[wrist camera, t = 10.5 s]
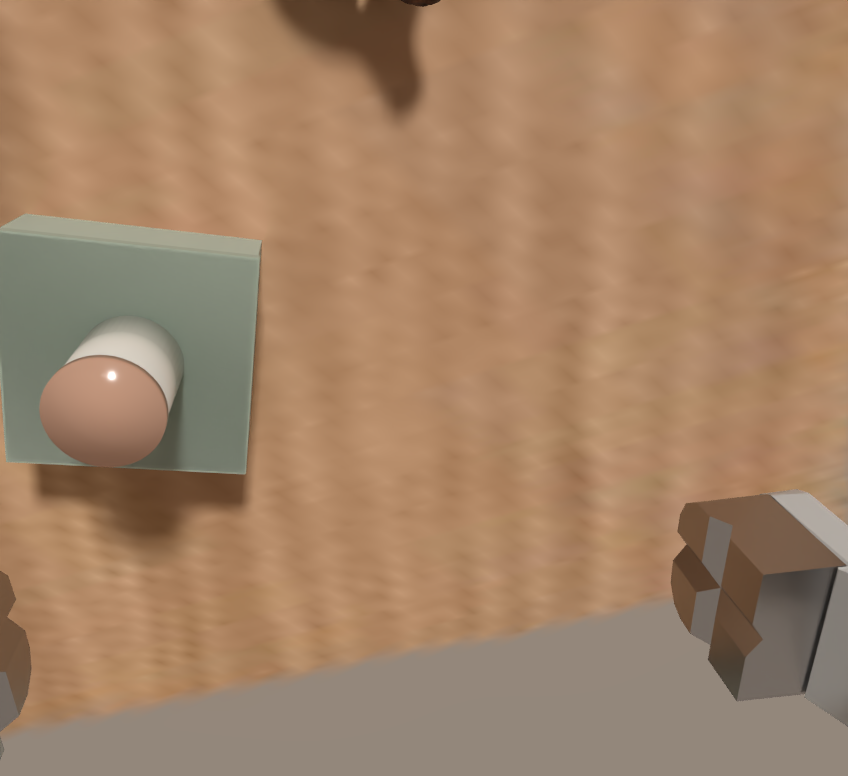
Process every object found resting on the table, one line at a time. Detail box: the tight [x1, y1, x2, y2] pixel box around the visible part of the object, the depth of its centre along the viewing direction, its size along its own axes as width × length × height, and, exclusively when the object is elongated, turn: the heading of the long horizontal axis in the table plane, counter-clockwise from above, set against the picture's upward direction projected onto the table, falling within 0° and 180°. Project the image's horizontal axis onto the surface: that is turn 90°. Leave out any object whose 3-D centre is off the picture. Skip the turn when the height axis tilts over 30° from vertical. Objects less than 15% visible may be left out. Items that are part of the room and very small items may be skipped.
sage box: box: [0, 214, 262, 474], centre depth 40 cm, size 12×12×5 cm
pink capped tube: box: [39, 316, 184, 467], centre depth 35 cm, size 5×5×6 cm
